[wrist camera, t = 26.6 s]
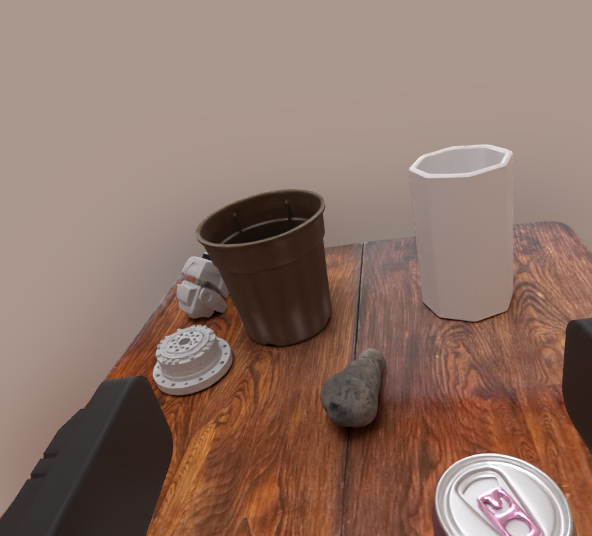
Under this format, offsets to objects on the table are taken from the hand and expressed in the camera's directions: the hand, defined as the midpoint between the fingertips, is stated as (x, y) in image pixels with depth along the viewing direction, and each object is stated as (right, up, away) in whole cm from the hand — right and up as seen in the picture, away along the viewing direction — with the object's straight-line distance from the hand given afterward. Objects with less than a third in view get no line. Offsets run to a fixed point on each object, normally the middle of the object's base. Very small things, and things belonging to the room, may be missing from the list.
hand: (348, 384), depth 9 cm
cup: (+21, -2, +53) cm, 57 cm away
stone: (+6, -12, +41) cm, 43 cm away
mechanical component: (-14, -11, +52) cm, 54 cm away
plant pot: (-2, -5, +57) cm, 57 cm away
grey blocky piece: (-14, -4, +64) cm, 66 cm away
